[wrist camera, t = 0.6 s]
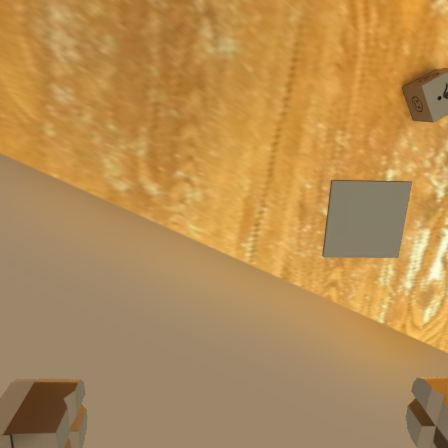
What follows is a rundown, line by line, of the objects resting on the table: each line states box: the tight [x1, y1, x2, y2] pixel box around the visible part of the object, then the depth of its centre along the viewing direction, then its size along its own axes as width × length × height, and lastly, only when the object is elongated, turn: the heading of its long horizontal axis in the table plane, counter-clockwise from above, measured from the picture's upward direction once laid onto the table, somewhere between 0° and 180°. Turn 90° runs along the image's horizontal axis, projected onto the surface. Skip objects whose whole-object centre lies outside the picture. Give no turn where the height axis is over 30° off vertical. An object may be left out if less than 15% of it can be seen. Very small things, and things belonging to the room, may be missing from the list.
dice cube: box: [402, 68, 448, 122], centre depth 51 cm, size 5×5×5 cm
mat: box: [323, 180, 412, 258], centre depth 58 cm, size 12×12×1 cm
